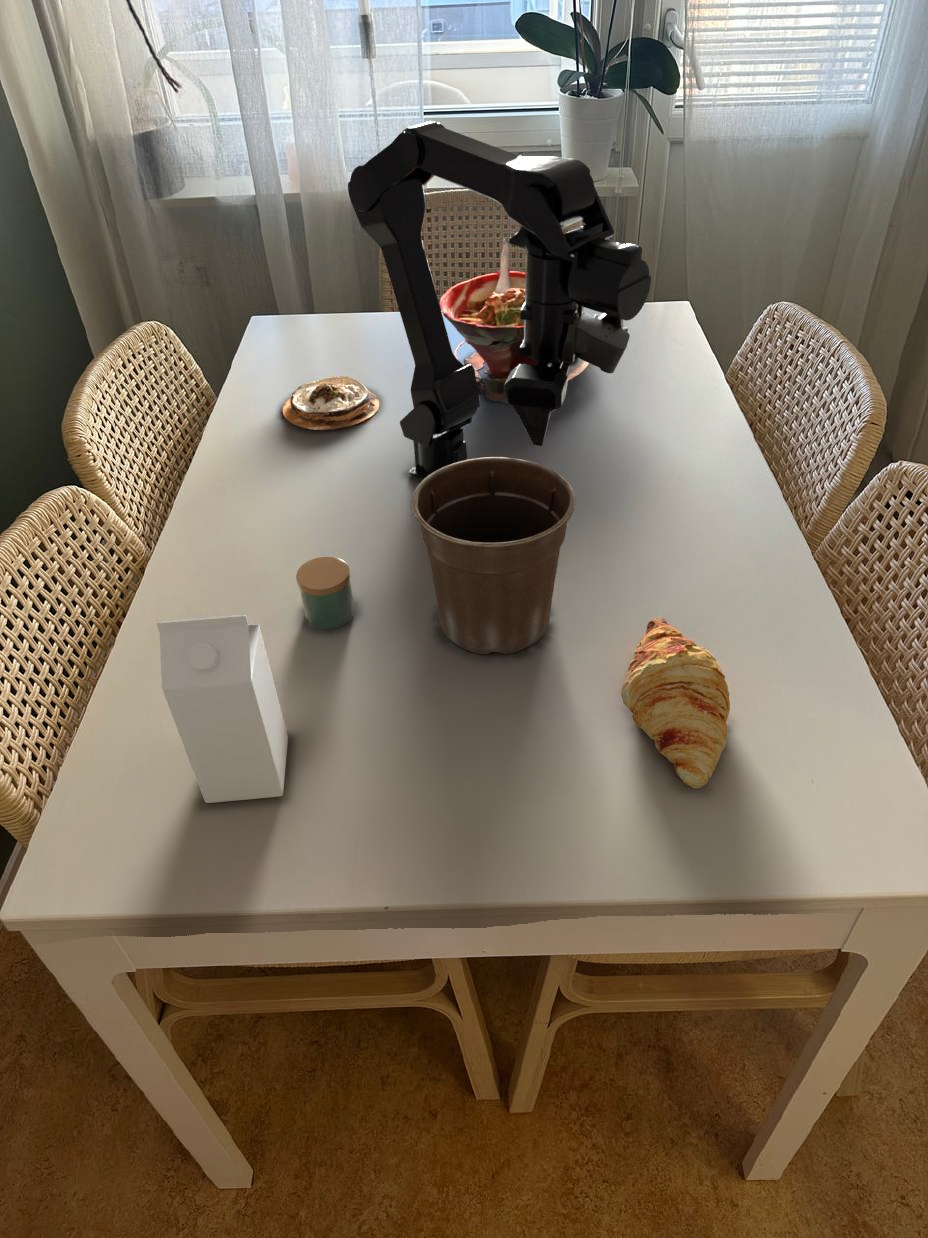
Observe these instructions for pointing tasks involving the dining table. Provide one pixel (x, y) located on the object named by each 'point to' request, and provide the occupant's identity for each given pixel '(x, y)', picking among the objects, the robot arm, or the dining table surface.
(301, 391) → the stacked pancakes
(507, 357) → the stew
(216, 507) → the dining table surface
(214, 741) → the milk carton
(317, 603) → the jar
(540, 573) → the plant pot
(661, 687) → the croissant
